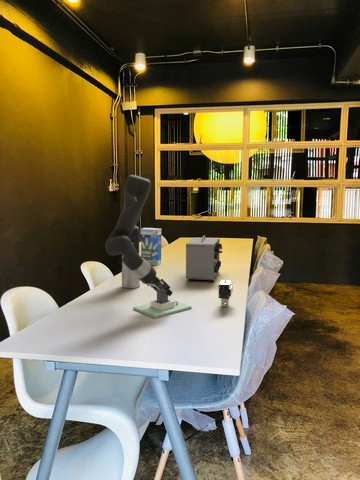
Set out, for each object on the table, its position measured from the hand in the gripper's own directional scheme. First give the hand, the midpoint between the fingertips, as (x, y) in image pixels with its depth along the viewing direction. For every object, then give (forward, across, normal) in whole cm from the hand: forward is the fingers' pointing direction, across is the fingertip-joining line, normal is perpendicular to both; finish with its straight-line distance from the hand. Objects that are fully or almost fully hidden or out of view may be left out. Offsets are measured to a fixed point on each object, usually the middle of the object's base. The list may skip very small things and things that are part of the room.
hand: (164, 292), depth 163 cm
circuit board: (+4, 0, +6) cm, 7 cm away
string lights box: (+46, +88, -35) cm, 105 cm away
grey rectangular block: (+3, 0, +5) cm, 6 cm away
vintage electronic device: (+46, +34, -36) cm, 68 cm away
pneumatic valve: (+21, -16, -11) cm, 29 cm away
